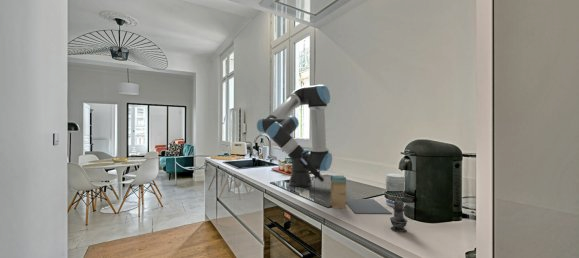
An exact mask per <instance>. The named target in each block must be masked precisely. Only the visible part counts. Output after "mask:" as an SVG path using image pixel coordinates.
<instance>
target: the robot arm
mask: <svg viewBox="0 0 579 258" xmlns="http://www.w3.org/2000/svg"><path fill="white" fill-rule="evenodd" d="M330 101H331V95H330V90H329V89H328V86H326V85H325V84H316V85H307V86H306V85H305V86H301V87H298V88H297V89H295V90H294V91H292V92H291V93H290V94H288V96H287V97H286V99H285V100H284V101H283V102H282V103H281V104H279V106H278V107H276V109H274V111H272V112H271V113H270V114H269V115H268V116H267V117H265V118H260V119H258V121H257V122H256V128H257V132H259V133H263V134H266V135H268V137H269V138H270V139H271V140H272V141H273V142H274V143H275V144H276V145H277V146H278V147H279V148H280V149H281V152H282V153H285V154H286V155H288V158H289V159H291V174H290V178H289V181H288V185H290V186H292V187H299V188H303V187H311V186H312V185H313V182H312V176H311V174H312V175H313V176H314V179H316V180H318V181H319V183H321V185H322V186H324V187H325V188H327V187H328V186H329V185H331V182H329V181H328V180H327V179H326V178H325V177H324V175H322V174H321V172H326V171H329V170H330V168H331V166H332V162H333V155H332V153H330V152H329V151H330V150H329V148H327V143H326V141H327V140H326V137H327V135H326V115H325V111H326V109H327V107H328V104H329V103H330ZM304 105H306V106H307V105H308V106H307V107H308V109H310V120H311V145H312V146H311V148H310V149H304V148H303V147H302V146H301V145H300V144H299V143H298V142H297V141H296V139H294V138H293V136H291V134H292V133H293V132H294V131H296V130H297V128H298V127H299V124H300V123H299V120H298V118H297V117H296V116H295V115H290V114H291V113H292V112H293V111H294V110H295V109H297V108H299V107H300V106H304ZM310 173H311V174H310Z"/></svg>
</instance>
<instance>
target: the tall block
mask: <svg viewBox="0 0 579 258" xmlns="http://www.w3.org/2000/svg"><path fill="white" fill-rule="evenodd" d="M346 199H347V177H346V176H345V175H339V174H338V175H330V205H332V206H331V207H332V208H333V209H347V206H346V205H347V204H346Z"/></svg>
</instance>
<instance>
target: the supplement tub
mask: <svg viewBox="0 0 579 258" xmlns="http://www.w3.org/2000/svg"><path fill="white" fill-rule="evenodd" d="M404 175H405V174H403V173H386V175H385V176H386V177H385V193H386V192H387V191H404V182H405V176H404ZM385 203H386V204H387V206H389V207H393V208H394V202H393V201H390V200H387V199H386V198H385ZM403 208H405V207H404V203H403Z"/></svg>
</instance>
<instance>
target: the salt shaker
mask: <svg viewBox="0 0 579 258" xmlns="http://www.w3.org/2000/svg"><path fill="white" fill-rule="evenodd" d="M404 211H405V209H404V207H403V201H402V200H401V199H399V197H398V199H395V201H394V207H393V216H392V217H390V218H389V220H390V223H391V225H392V226H391V227H390V230H391V231H392V232H396V233H401V234H402V233H406V232H407V229H406V226H407V223H408V221H409V220H407V219H406V218H405V217H404Z"/></svg>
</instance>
